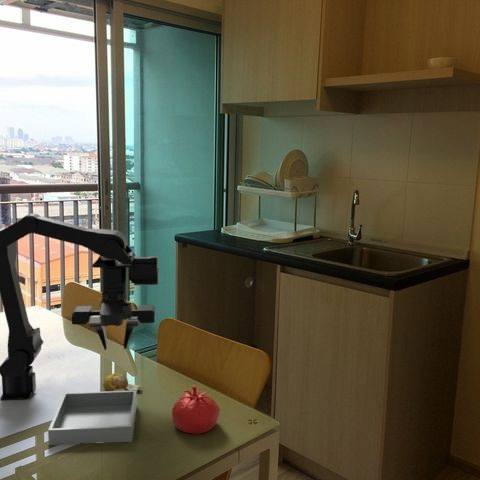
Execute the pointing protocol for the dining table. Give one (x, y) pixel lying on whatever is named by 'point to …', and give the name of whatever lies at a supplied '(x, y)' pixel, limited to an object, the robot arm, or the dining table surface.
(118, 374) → the fruit
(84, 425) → the serving bin
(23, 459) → the dining table surface
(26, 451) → the dining table surface
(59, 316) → the dining table surface
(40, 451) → the dining table surface
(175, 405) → the pomegranate
